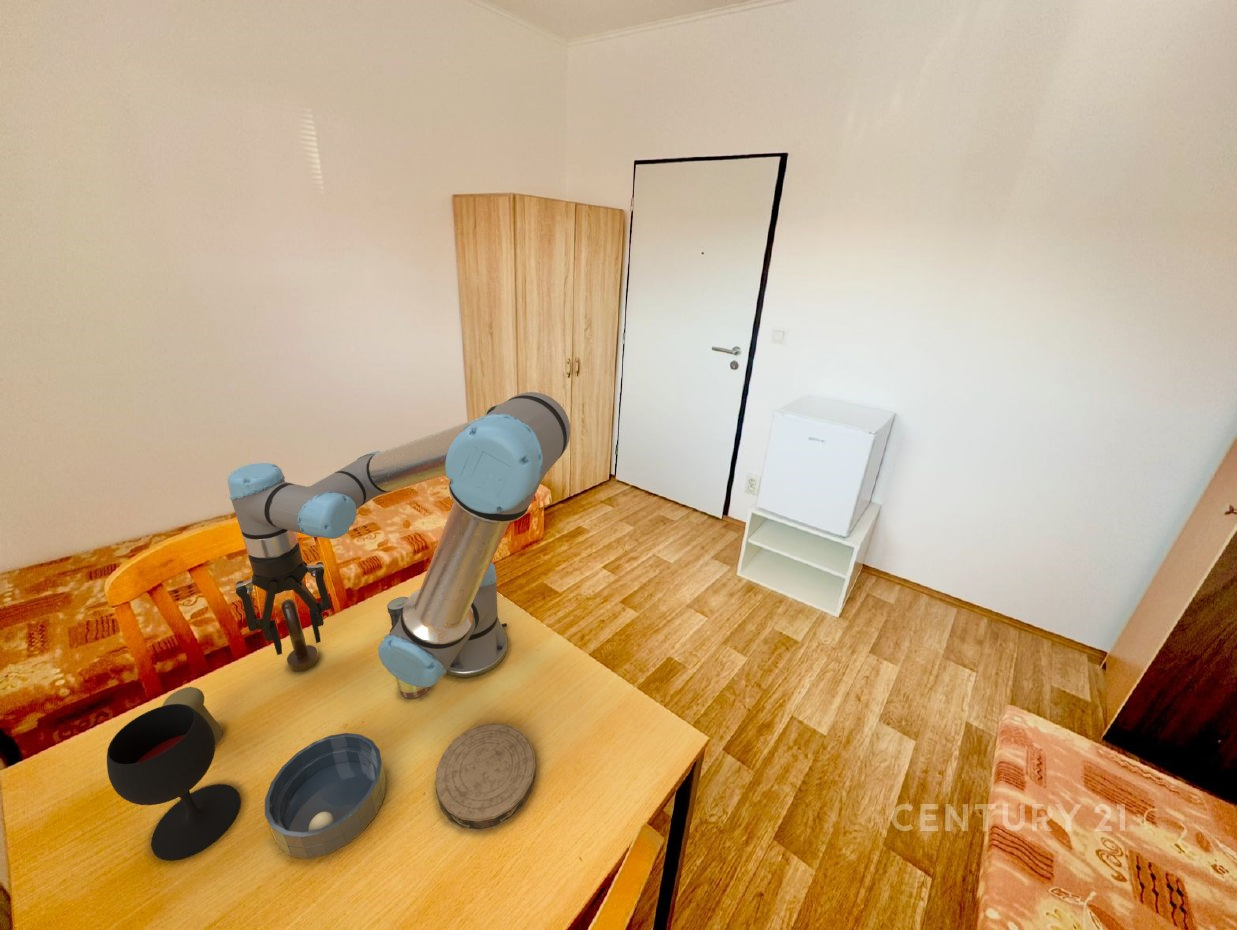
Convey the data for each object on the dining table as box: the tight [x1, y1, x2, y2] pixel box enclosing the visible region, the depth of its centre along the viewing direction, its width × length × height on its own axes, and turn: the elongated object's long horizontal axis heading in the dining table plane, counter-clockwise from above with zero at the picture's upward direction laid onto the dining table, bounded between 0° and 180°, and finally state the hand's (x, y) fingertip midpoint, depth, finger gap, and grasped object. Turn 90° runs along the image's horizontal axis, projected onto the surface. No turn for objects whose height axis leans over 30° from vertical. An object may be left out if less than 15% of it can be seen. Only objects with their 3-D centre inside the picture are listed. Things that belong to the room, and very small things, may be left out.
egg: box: [309, 812, 334, 831], centre depth 71 cm, size 3×3×3 cm
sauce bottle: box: [386, 596, 431, 700], centre depth 93 cm, size 6×6×20 cm
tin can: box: [434, 722, 536, 832], centre depth 81 cm, size 16×16×3 cm
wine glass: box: [106, 704, 242, 862], centre depth 68 cm, size 10×10×20 cm
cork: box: [162, 686, 223, 746], centre depth 81 cm, size 6×6×11 cm
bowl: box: [264, 732, 387, 859], centre depth 75 cm, size 15×15×6 cm
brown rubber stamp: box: [280, 598, 320, 673], centre depth 96 cm, size 5×5×16 cm
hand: (299, 643), depth 96 cm, fingers open, 6 cm apart
